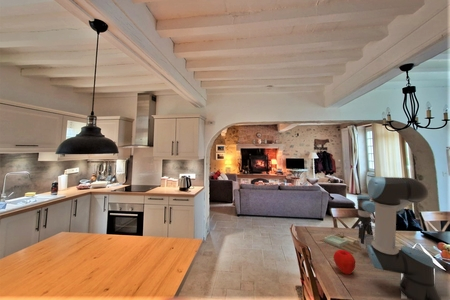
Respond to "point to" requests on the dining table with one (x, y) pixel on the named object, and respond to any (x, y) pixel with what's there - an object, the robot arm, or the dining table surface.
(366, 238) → the medicine box
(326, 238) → the tray
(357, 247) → the bench board
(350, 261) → the apple
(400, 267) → the robot arm
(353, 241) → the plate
